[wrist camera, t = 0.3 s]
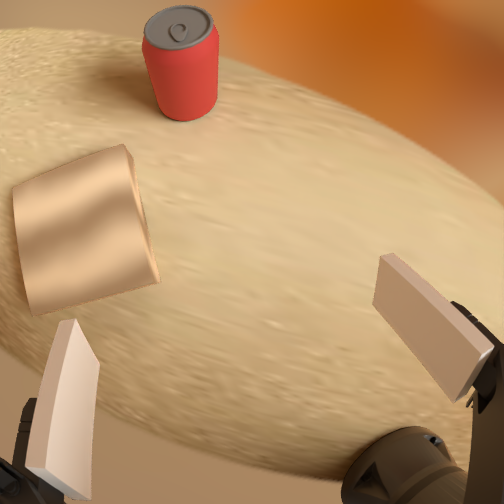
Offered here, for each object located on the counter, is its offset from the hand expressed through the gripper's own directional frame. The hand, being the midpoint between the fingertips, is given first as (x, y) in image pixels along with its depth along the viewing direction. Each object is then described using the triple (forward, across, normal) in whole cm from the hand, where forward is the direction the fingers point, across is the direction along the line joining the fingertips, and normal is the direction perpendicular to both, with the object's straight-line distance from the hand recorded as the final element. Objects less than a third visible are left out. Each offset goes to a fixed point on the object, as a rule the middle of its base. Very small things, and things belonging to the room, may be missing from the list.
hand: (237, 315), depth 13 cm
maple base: (+20, +12, +3) cm, 23 cm away
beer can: (+26, 0, -8) cm, 28 cm away
